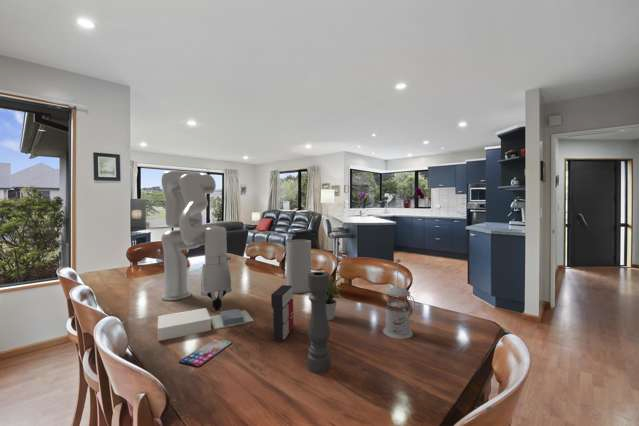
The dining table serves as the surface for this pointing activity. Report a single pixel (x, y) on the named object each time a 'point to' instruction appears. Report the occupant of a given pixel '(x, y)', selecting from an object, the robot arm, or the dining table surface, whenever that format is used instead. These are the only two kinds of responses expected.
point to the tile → (231, 317)
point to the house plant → (331, 302)
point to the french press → (398, 313)
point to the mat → (218, 324)
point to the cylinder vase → (298, 264)
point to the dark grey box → (282, 312)
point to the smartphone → (205, 353)
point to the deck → (183, 323)
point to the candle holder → (318, 324)
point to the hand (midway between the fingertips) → (216, 309)
